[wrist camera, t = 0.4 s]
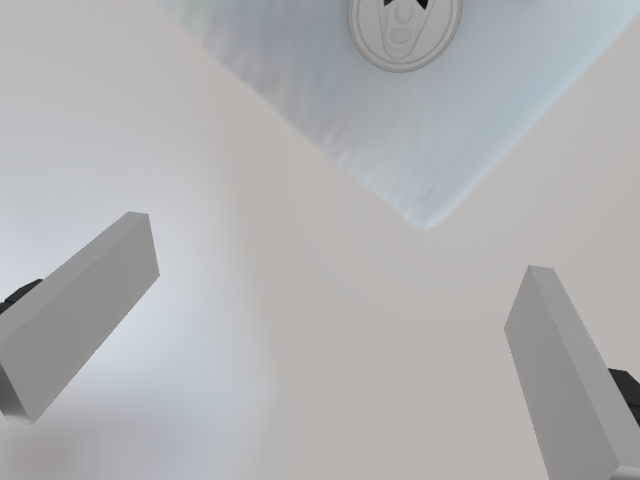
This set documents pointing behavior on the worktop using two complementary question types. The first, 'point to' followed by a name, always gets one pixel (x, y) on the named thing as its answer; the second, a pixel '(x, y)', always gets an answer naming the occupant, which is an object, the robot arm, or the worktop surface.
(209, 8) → the worktop surface
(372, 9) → the beverage can
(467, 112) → the worktop surface
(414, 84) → the worktop surface
